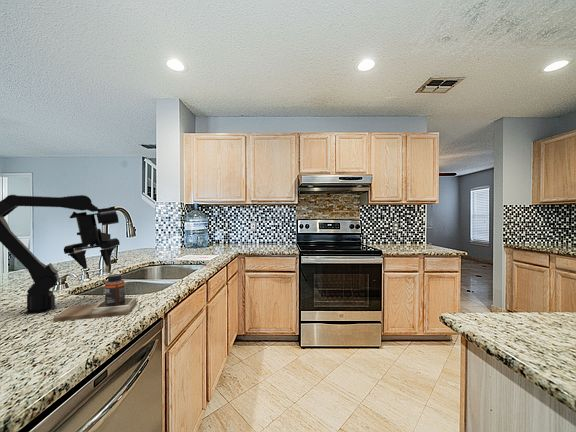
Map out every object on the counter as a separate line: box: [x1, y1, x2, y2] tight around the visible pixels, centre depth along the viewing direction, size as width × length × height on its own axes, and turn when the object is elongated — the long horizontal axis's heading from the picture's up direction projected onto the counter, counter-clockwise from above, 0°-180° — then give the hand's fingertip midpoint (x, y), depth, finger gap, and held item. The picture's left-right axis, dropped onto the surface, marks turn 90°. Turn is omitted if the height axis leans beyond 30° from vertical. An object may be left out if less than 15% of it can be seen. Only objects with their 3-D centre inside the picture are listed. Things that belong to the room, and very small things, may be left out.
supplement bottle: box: [104, 273, 126, 307], centre depth 97 cm, size 6×6×11 cm
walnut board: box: [52, 296, 138, 323], centre depth 96 cm, size 21×12×3 cm, turn 106°
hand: (96, 267), depth 107 cm, fingers open, 9 cm apart
